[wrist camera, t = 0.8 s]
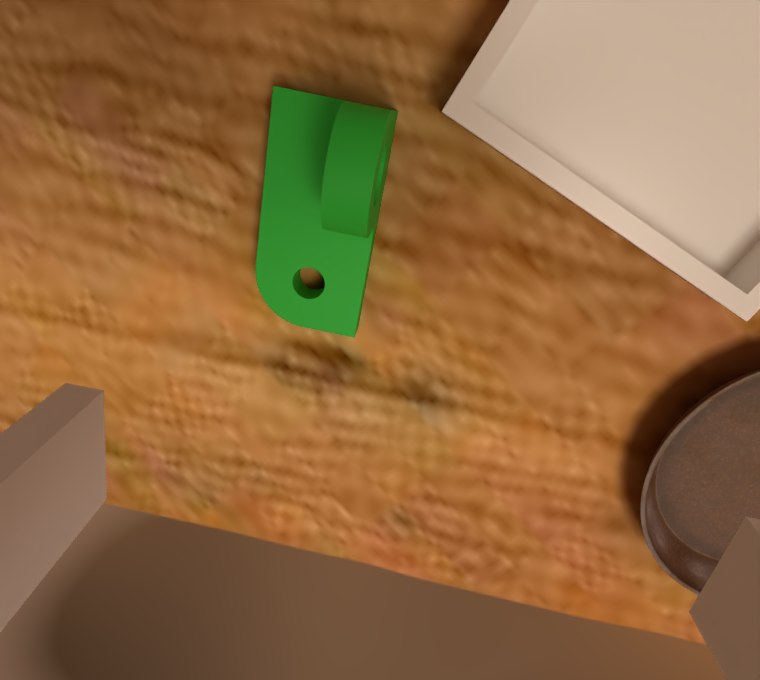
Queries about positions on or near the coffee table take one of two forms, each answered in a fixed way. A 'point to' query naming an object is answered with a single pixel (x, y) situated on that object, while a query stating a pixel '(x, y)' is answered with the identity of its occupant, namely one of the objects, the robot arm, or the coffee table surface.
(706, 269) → the tray
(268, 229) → the mechanical part
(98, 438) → the robot arm
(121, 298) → the coffee table surface
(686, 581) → the plant saucer
